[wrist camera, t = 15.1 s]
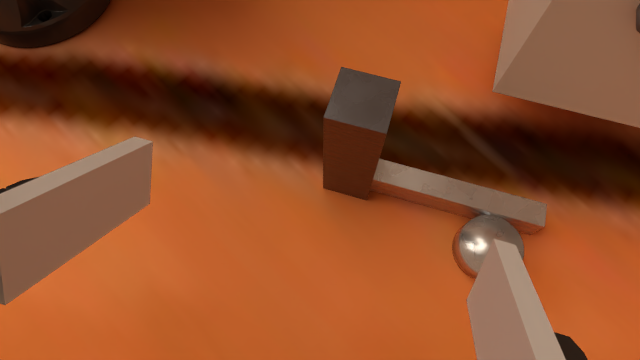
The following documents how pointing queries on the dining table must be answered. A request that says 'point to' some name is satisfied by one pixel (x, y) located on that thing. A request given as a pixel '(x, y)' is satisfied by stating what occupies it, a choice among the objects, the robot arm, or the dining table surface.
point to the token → (482, 241)
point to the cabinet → (573, 56)
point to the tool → (395, 179)
